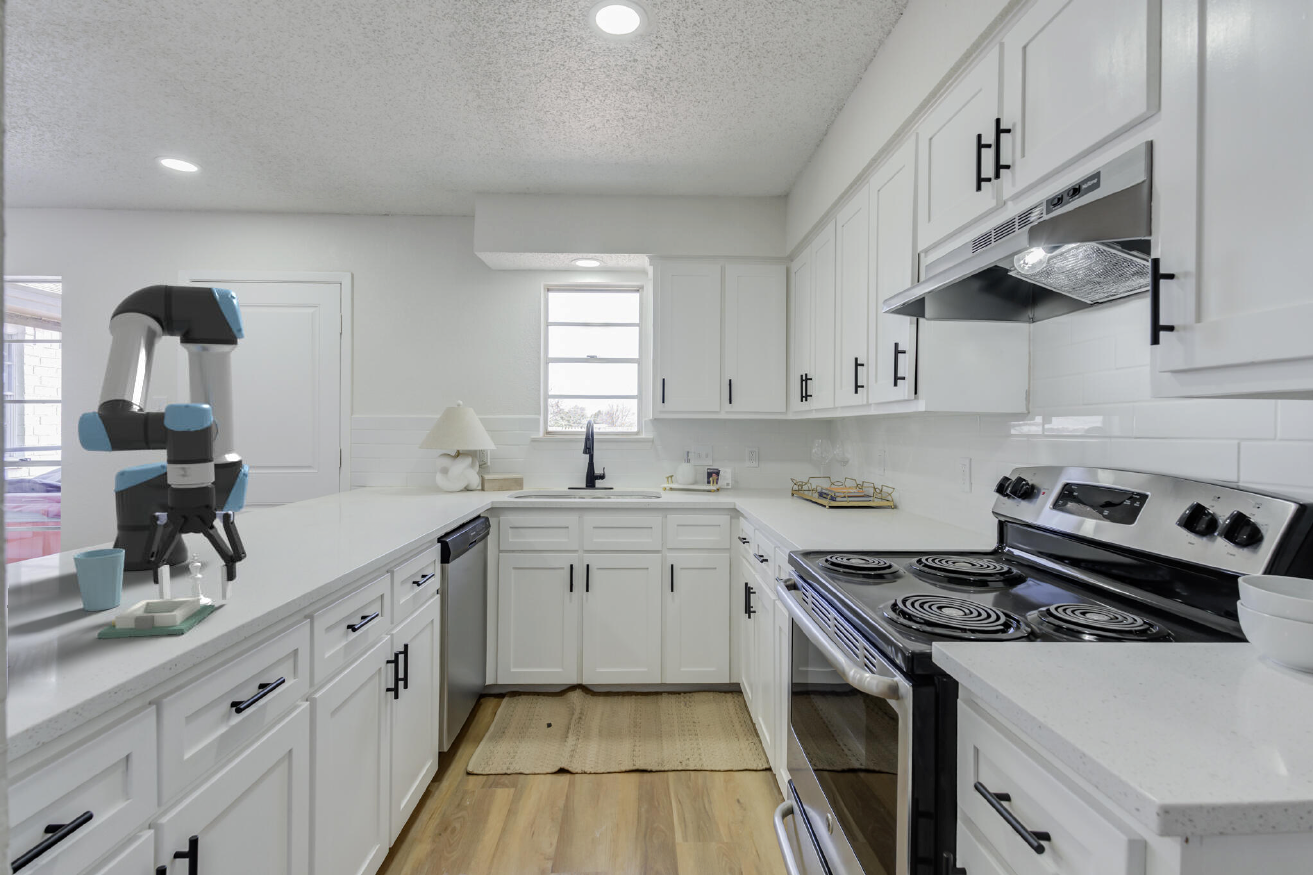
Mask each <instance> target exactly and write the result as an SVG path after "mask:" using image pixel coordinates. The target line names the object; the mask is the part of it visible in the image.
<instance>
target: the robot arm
mask: <svg viewBox="0 0 1313 875" xmlns="http://www.w3.org/2000/svg"><path fill="white" fill-rule="evenodd" d="M240 308H241V307H240V304H239V299H238V297H237V294H236V293H235V291H233V290H232V289H231V290H230V289H228V288H219V287H214V286H212V287H208V286H207V287H205V286H202V287H201V286H189V285H187V286H184V285H168V284H154V285H149V286H146V287H143V288H141V289H138V290H136V291H135V292H133V293H131V294H130V295H128V296H127V297H125V298H124V299H123V300H122V301H121V302H120V303H119V304H118V305H117V307H116V308H115V310H114V311H113V312H112V315H111V317H110V320H109V324H108V330H109V333H110V335H111V336H112V339H111V344H110V348H109V349H110V350H109V354H108V358H107V364H106V368H105V372H104V377H103V382H102V387H101V393H100V396H99V400H98V401H99V402H98V406H97V411H96V410H95V411H91V412H89V411H88V412H84V413H82V414H81V415H80V417H79V418H78V424H77V432H78V434H77V435H78V440H79V444H80V446H81V447H82V448H83V449H84V450H85V451H87V452H109V453H112V452H129V451H165V450H166V461H159V462H153V463H152V462H151V463H146V464H141V465H135V466H134V465H133V466H130V467H126V468H123V469H121V470H119V471H118V472H116V474H115V478H114V481H115V482H114V489H113V492H114V493H115V511H116V530H117V531H116V532H117V533H116V536H115V539H114V542H113V544H112V548H111V549H123V550H125V555H124V567H123V571H141V570H142V571H143V570H151V569H152V579H153V580H152V581H153V584H154V585H158V597H159V599H158V600H160V599H172V598H171V576H170V574H171V573H170V566H174V565H178V564H180V563H184V562H185V561H187V560H188V559H189V551H188V550H189V549H188V547H187V543H186V542H185V540H184V538H183V535H188V534H190V533H191V534H197V535H198V534H202V535H203V537H205V538H206V539H207V540H208V541H209V543H210V545H211V546H212V547H213V549H214V550H215V551H216V553H217V555H218V556H219V557H220V559H221V560H222V561H223V563H224V564H223V565H221V566H220V578H221V579H220V580H221V582H220V583H221V599H222V600H224V601H225V600H228V599H229V598H231V597H232V596H233V592H232V590H233V589H232V582H233V581H234V580H236V578H237V564H238V563H240V562H242V561H243V560H245V559H246V558H247V553H246V550H245V548H244V545H243V542H242V540H241V536H240V534H239V531H238V529H237V525H236V523H235V513H238V512H241V511H242V510H243V509H244V508H245V505H246V501H247V500H246V499H247V493H248V492H247V490H248V484H249V474H250V473H249V472H250V466H249V465H248V464H243V457H242V456H241V455H239V454H238V453H237V452H236V450H235V448H236V447H235V429H234V427H235V424H234V409H233V408H234V405H233V404H234V402H233V401H234V400H233V378H232V377H233V376H232V356H231V355H232V352H233V351H235V349H237V348H238V346H239V344H238V343H239V342H238V340H242V339H245V330H244V324H243V318H242V311H241V309H240ZM162 337H177V338H179V345H180V346H181V347H182V348H183V349H185V351H186V352H187V353H188V354H187V355H188V359H187V360H188V377H189V396H190V397H189V398H190V401H189V402H190V403H188V402H187V403H185V402H183V403H170V404H167V405H166V406H165V408H164V411H146V410H147V409H146V408H147V401H148V398H149V397H148V395H149V388H150V381H151V376H152V368H153V361H154V356H155V350H156V345H157V344H158V343H160V341H161V340H162ZM216 519H219V522H220V523H222V528H223V530H224V533H225V536H226V538H227V539H226V540H227V541H228V544H229V545H228V544H227V543H226V541H225V540H224V539H223V537H222V536H221V534H220V533H219V532H218V528H217V527H216V525H215V524H214V522H216ZM229 546H230V547H229Z"/></svg>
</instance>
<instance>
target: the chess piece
mask: <svg viewBox="0 0 1313 875" xmlns="http://www.w3.org/2000/svg"><path fill="white" fill-rule="evenodd" d="M190 560H191V561H192V563H190V564H189V565H188V568H189V570H190V573H191V575H189V577H188V580H192V584H191V594H190V597H188V598H200V605H210V604H211V603H212V599H211V598H209V597H204V595H203V594H202V593H201V592H202V591H201V587H200V581H199V579H201V578H203V576H202V574H199V573H200V569H201V566H202V564H201V563H200V562H198V561H199V558H198V557H197V553H195V554H192V556H191V558H190ZM211 605H212V604H211Z"/></svg>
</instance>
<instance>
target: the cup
mask: <svg viewBox="0 0 1313 875" xmlns="http://www.w3.org/2000/svg"><path fill="white" fill-rule="evenodd" d="M124 555H125V550H123V549H112V548H101V549H91V550H86V551H82V552H79V553H76V554H74V555H73V562H74V566H75V571H76V575H77V580H78V584H79V585H78V586H79V590H80V595H81V601H82V605H83V609H84V610H85V611H88V612H98V611H106V610H109V609H114V608H116V607H118V606H120V605H121V604H122V602H121V601H122V590H123V589H122V587H123V580H124V579H123V578H124V570H123V567H124Z"/></svg>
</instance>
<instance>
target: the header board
mask: <svg viewBox="0 0 1313 875" xmlns="http://www.w3.org/2000/svg"><path fill="white" fill-rule="evenodd" d="M213 610H214V611H215V610H216V605H215V604H211V605H200V598H189V597H188V598H187V597H183V598H170V599H160V600H159V599H142V600H141V601H139V602H138V603H136V604H134V605H133V606H131V607H130V608H127V609H126V610H124V611H123V612H121V613H119V614H118V615H116V616H115V620H112V621H111V624H110V625H108V626H107V627H105V628H103V629H101V630H100V631H99V632H97V639H98V638H101V639H116V638H117V639H119V638H130V637H129V636H132V637H131V638H134V637H133V636H139V637H151V636H150V635H158V636H168V635H167V634H177V635H185V634H186V633H187V632H189V631H190V630H191V629H192V627H193V626H194V625H195V624H196V623H197V622H199V621H200V620H201V621H203V620H204V619H205V618H207V616H206V615H208V614H209V613H210V614H212V613H211V611H213ZM214 611H213V612H214ZM210 614H209V615H210ZM209 615H208V616H209ZM204 617H205V618H204ZM203 618H204V619H203ZM202 619H203V620H202ZM201 621H200V622H201ZM200 622H199V623H200ZM196 625H197V624H196ZM196 625H195V626H196ZM195 626H194V627H195ZM194 627H193V628H194ZM190 628H191V629H190ZM189 629H190V630H189ZM188 630H189V631H188ZM186 631H187V632H186ZM182 633H183V634H182ZM184 633H185V634H184ZM118 637H119V638H118Z"/></svg>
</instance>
